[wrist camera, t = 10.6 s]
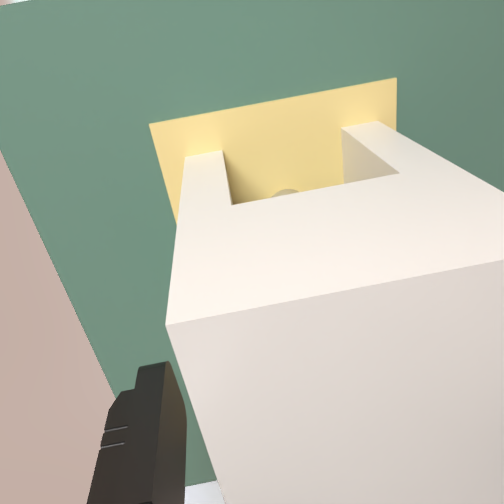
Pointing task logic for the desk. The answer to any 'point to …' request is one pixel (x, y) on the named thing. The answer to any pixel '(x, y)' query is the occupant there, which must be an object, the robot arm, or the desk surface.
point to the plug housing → (346, 330)
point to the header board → (218, 128)
